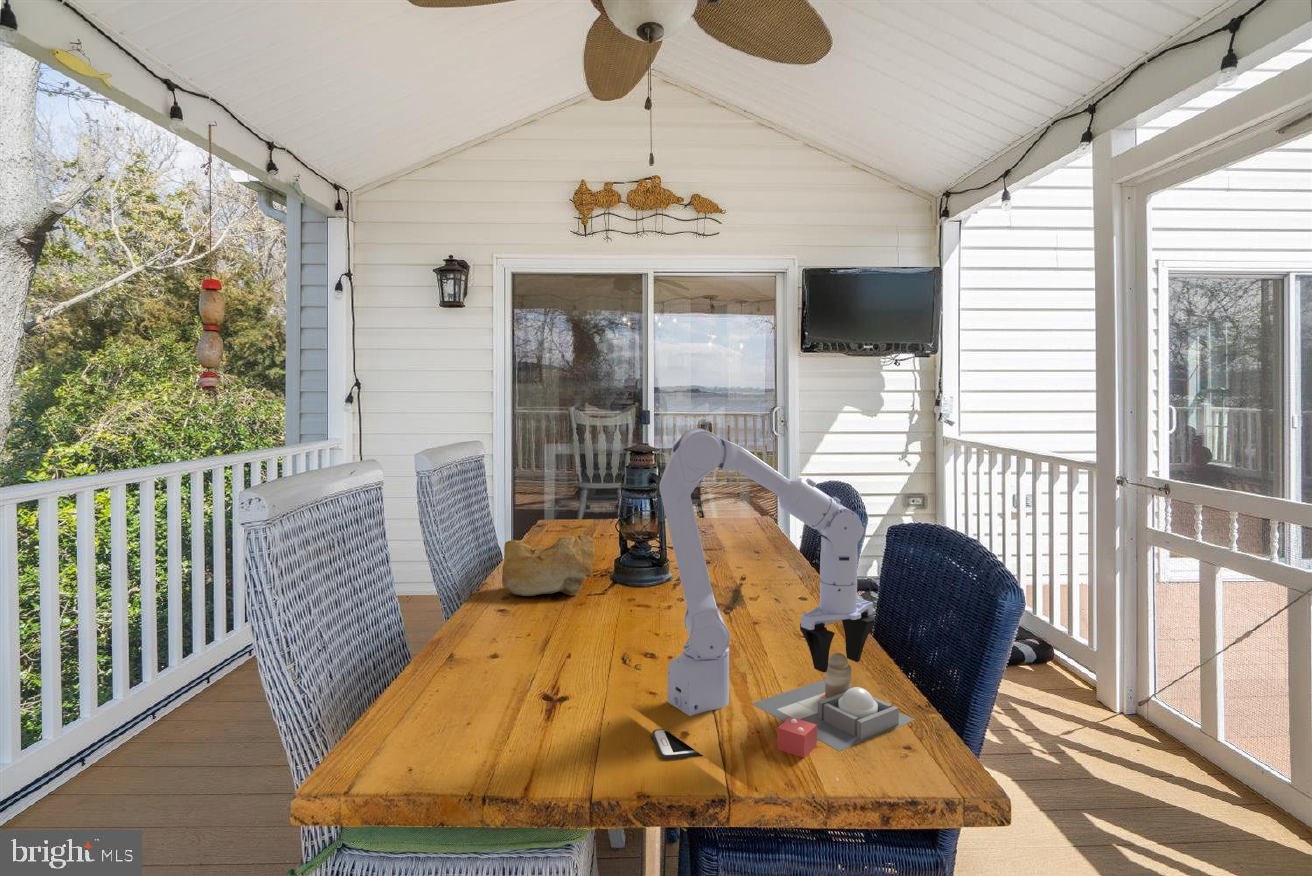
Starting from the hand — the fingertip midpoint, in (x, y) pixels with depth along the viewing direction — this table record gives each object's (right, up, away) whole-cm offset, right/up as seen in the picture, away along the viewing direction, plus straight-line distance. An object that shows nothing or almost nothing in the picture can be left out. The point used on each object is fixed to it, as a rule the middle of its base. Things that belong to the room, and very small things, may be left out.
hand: (837, 665), depth 113 cm
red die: (-10, -7, -16) cm, 20 cm away
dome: (+1, -5, -8) cm, 10 cm away
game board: (-2, -7, -5) cm, 8 cm away
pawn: (0, -5, 0) cm, 5 cm away
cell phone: (-22, -8, -12) cm, 26 cm away
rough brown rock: (-55, -3, +67) cm, 87 cm away
